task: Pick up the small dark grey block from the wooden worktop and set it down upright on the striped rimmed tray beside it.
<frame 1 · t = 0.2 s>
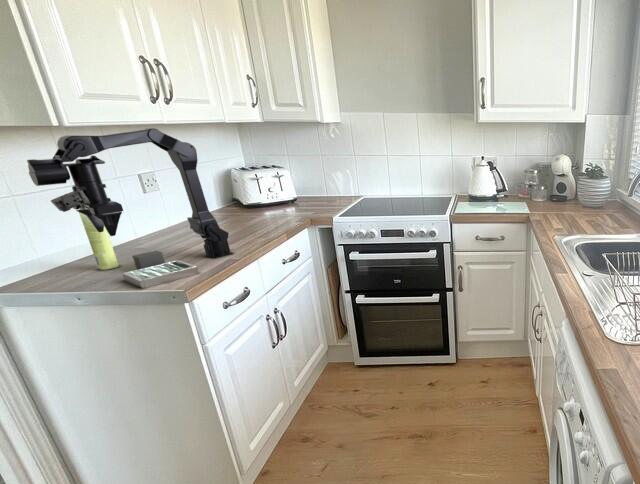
hand: (106, 233, 124), 14 cm above the counter, tool pointing down, fingers open, 9 cm apart
tube: (109, 268, 139), on the counter
striped rimmed tray: (162, 277, 130), on the counter
dark grey block: (152, 268, 138), on the counter
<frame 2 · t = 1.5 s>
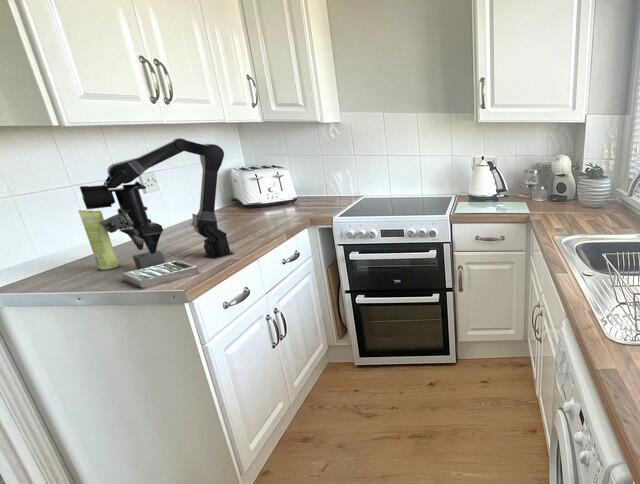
hand: (146, 251, 136), 6 cm above the counter, tool pointing down, fingers open, 9 cm apart
nothing on the counter moved.
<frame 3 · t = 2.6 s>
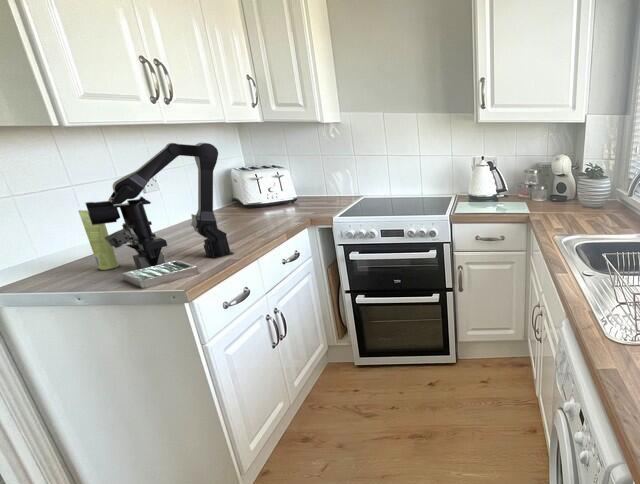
hand: (151, 265, 138), 1 cm above the counter, tool pointing down, fingers closed on dark grey block, 4 cm apart
dark grey block: (152, 268, 138), on the counter, touching gripper
everything else where it was.
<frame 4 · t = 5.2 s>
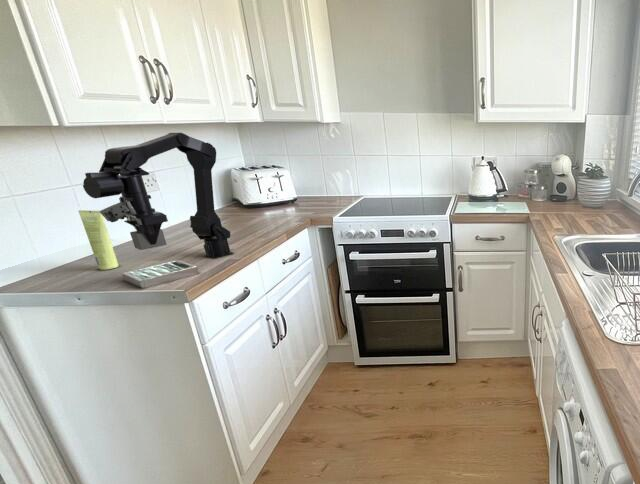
hand: (150, 243, 127), 11 cm above the counter, tool pointing down, fingers closed on dark grey block, 4 cm apart
dark grey block: (151, 246, 128), point 10 cm above the counter, touching gripper
everything else where it was.
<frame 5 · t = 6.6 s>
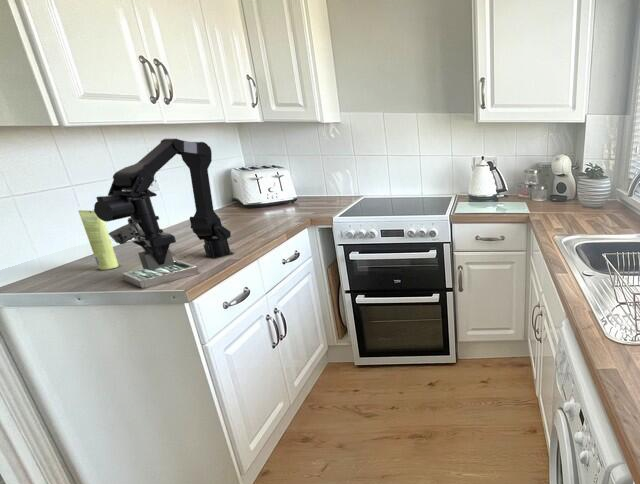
hand: (158, 263, 129), 5 cm above the counter, tool pointing down, fingers closed on dark grey block, 4 cm apart
dark grey block: (159, 266, 129), point 4 cm above the counter, touching gripper
everything else where it was.
when the fingers open (3 cm above the counter, at t = 7.6 s): dark grey block stays where it is, resting on striped rimmed tray.
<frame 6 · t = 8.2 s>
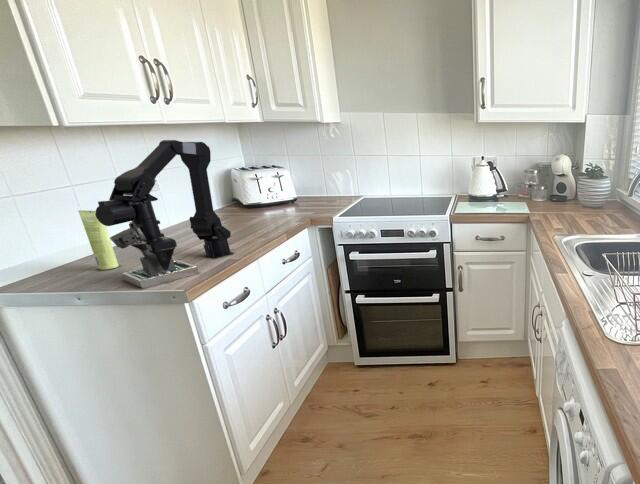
hand: (159, 267, 129), 3 cm above the counter, tool pointing down, fingers open, 9 cm apart
dark grey block: (160, 271, 130), point 2 cm above the counter, touching striped rimmed tray
everything else where it was.
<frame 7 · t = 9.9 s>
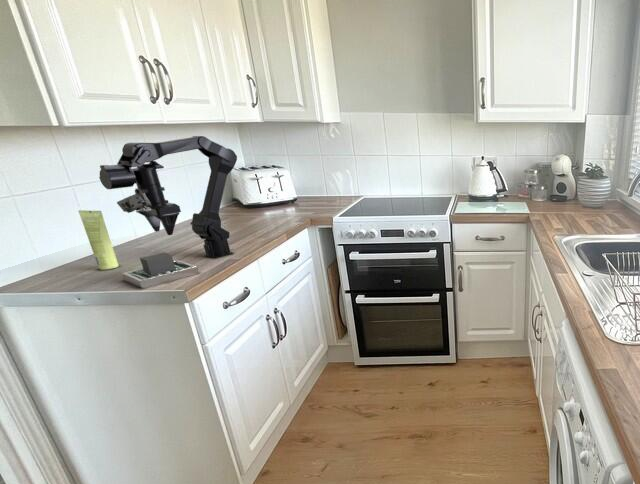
hand: (163, 233, 134), 12 cm above the counter, tool pointing down, fingers open, 9 cm apart
nothing on the counter moved.
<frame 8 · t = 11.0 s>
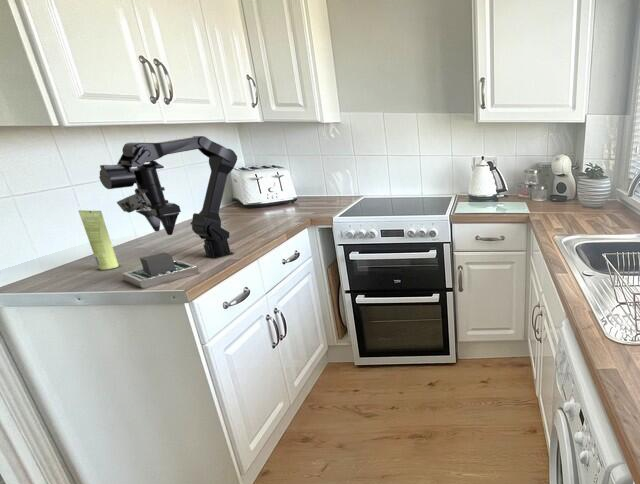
hand: (163, 233, 134), 12 cm above the counter, tool pointing down, fingers open, 9 cm apart
nothing on the counter moved.
at the end: dark grey block inside the target area on the striped rimmed tray (0.0 cm from its centre), point 1.9 cm above the striped rimmed tray's base; dark grey block tilted 0°; the gripper is holding nothing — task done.
